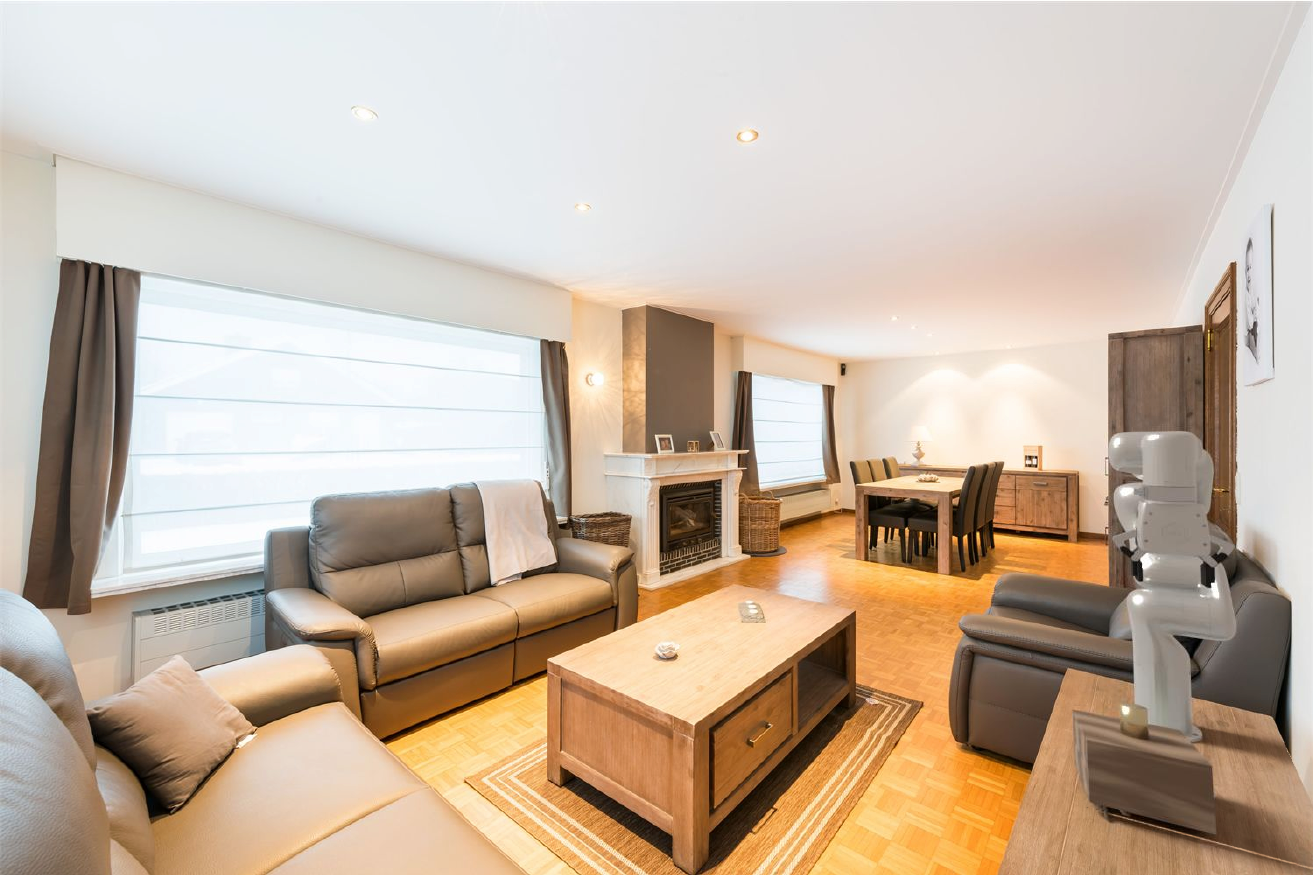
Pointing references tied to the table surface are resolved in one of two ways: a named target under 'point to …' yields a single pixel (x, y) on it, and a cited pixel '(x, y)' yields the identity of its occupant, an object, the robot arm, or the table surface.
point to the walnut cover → (1143, 768)
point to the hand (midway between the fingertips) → (1171, 583)
